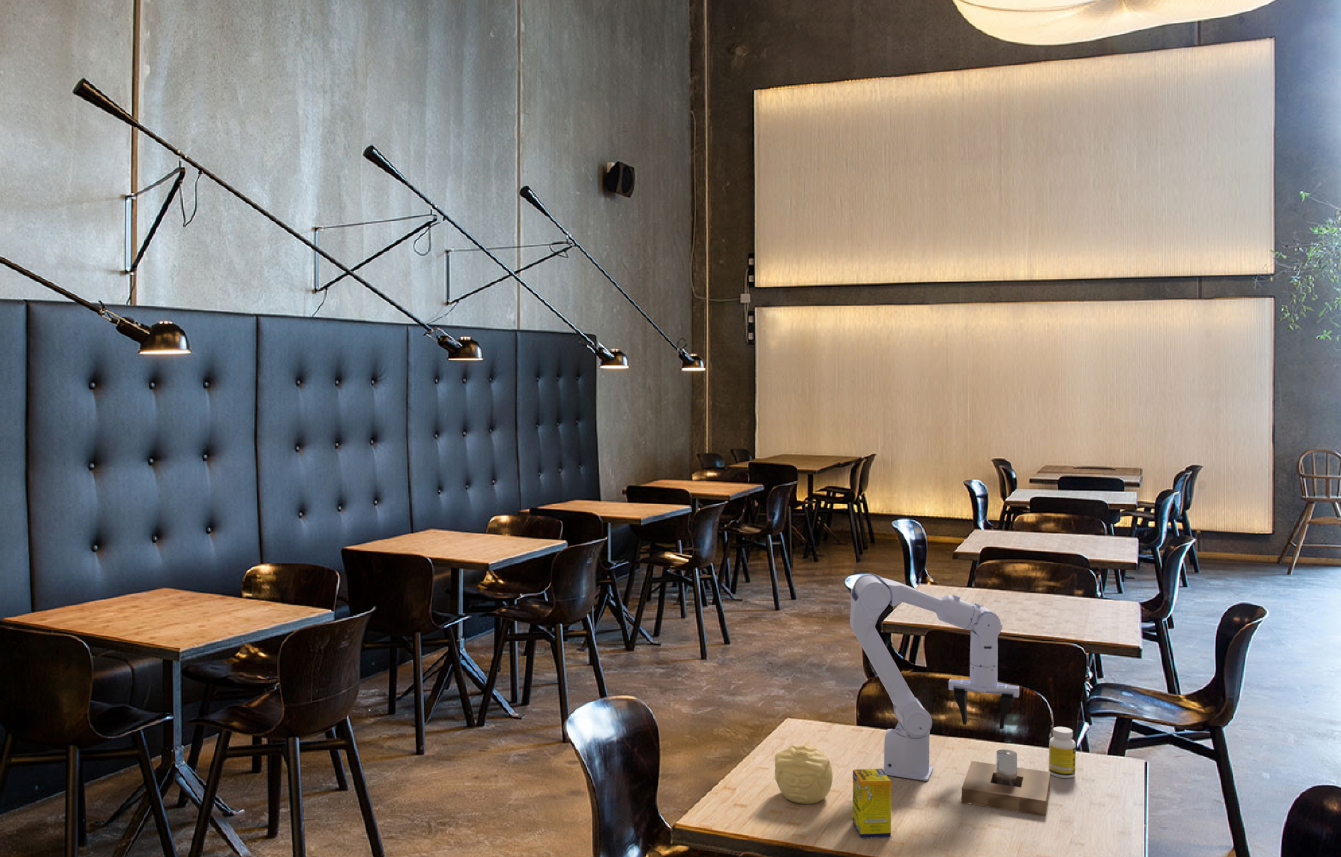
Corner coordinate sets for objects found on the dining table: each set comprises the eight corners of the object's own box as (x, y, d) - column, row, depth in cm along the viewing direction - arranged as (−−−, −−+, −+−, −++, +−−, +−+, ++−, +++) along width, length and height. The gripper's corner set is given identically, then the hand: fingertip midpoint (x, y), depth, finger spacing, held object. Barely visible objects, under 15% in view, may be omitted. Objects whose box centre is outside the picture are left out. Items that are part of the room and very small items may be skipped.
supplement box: (851, 824, 195) (852, 768, 195) (882, 823, 196) (882, 767, 195) (860, 838, 189) (860, 781, 189) (891, 837, 190) (892, 779, 189)
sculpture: (769, 805, 204) (769, 752, 204) (783, 783, 216) (783, 733, 215) (825, 813, 201) (826, 759, 200) (837, 790, 212) (837, 739, 211)
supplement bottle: (1077, 779, 217) (1078, 734, 217) (1050, 778, 218) (1051, 733, 218) (1072, 770, 222) (1073, 726, 222) (1046, 768, 224) (1047, 724, 223)
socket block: (961, 802, 205) (961, 788, 205) (971, 774, 220) (971, 760, 220) (1045, 816, 199) (1046, 801, 199) (1050, 786, 214) (1050, 772, 214)
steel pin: (995, 793, 208) (995, 754, 208) (997, 786, 212) (997, 748, 212) (1016, 796, 207) (1016, 757, 207) (1017, 789, 211) (1017, 750, 211)
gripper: (946, 664, 219) (946, 727, 220) (1017, 672, 214) (1016, 735, 214) (951, 656, 226) (950, 717, 226) (1020, 663, 220) (1019, 725, 221)
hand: (983, 725), depth 221 cm, fingers open, 7 cm apart
